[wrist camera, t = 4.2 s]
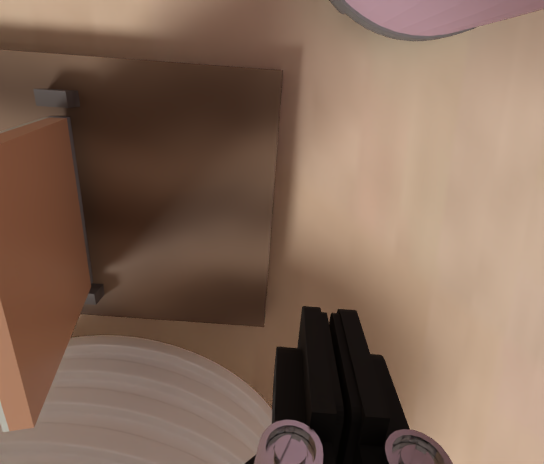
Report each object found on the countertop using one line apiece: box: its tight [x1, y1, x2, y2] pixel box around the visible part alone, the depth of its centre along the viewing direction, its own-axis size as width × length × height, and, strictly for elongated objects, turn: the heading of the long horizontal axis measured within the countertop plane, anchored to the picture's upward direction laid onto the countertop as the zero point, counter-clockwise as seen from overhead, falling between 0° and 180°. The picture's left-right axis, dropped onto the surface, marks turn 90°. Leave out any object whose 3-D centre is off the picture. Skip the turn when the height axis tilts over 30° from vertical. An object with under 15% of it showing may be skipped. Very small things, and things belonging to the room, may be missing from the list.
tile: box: [0, 115, 93, 432], centre depth 16 cm, size 10×11×1 cm
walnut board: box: [0, 50, 283, 327], centre depth 21 cm, size 16×23×3 cm
